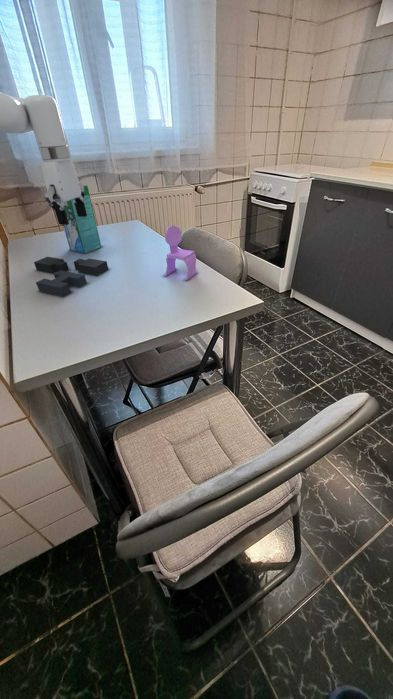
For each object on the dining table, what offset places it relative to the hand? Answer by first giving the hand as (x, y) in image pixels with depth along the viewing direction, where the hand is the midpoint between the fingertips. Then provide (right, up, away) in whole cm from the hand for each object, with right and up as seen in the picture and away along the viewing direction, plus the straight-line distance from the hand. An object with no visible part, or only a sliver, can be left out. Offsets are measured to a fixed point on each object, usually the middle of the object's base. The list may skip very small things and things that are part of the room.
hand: (73, 220), depth 91 cm
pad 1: (-12, -12, +13) cm, 21 cm away
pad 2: (+1, -13, +11) cm, 17 cm away
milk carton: (-8, +2, +30) cm, 31 cm away
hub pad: (-3, -21, 0) cm, 21 cm away
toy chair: (+33, -16, +5) cm, 37 cm away
